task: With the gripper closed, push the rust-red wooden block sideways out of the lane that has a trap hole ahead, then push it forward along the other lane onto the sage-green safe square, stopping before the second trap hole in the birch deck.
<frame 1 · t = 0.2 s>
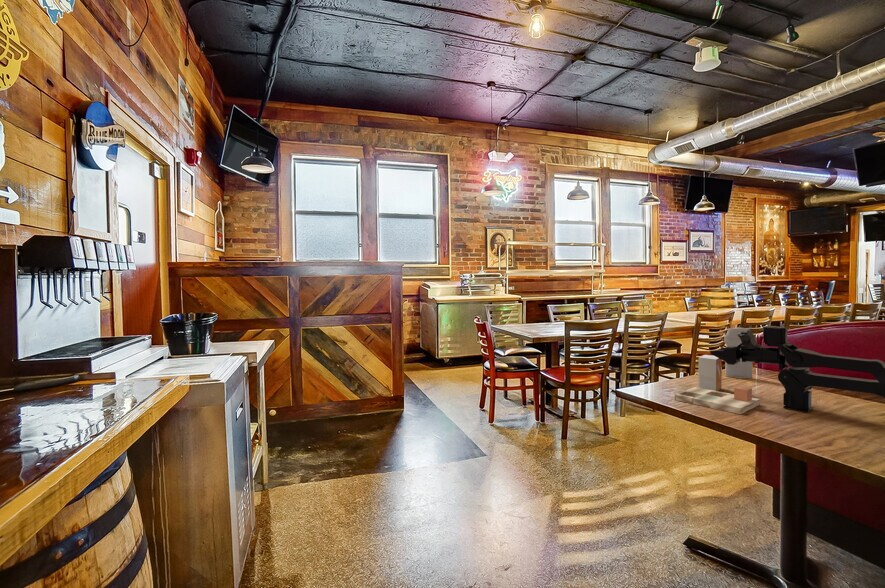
hand: (715, 350, 164), 16 cm above the table, tool horizontal, fingers open, 9 cm apart
block: (742, 399, 150), point 2 cm above the table, touching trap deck
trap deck: (716, 402, 154), on the table
small box: (710, 389, 170), on the table
grey upright slab: (738, 377, 188), on the table
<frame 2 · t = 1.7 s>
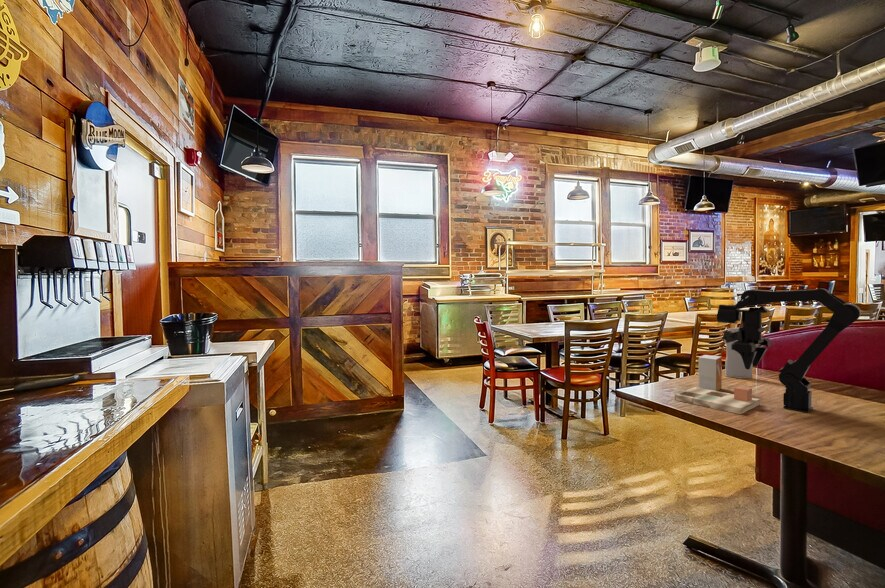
hand: (751, 367, 153), 12 cm above the table, tool pointing down, fingers open, 6 cm apart
nothing on the table moved.
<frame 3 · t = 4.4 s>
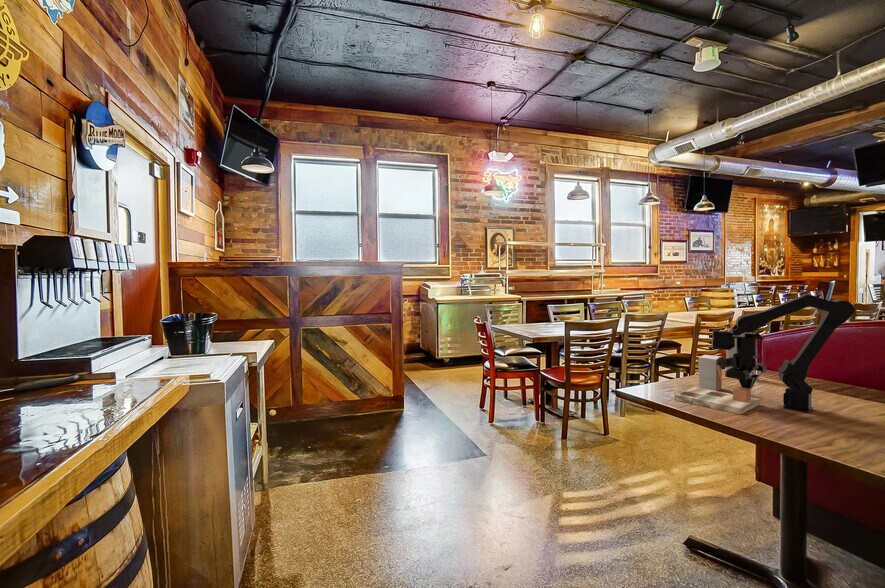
hand: (746, 394, 151), 3 cm above the table, tool pointing down, fingers closed
block: (741, 399, 149), point 2 cm above the table, touching gripper
everything else where it was.
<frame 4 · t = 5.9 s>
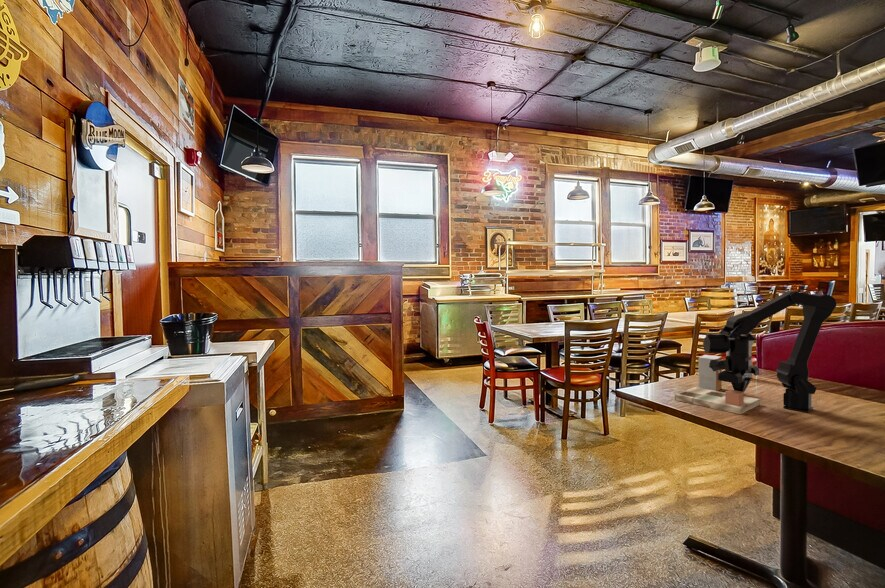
hand: (738, 398, 148), 3 cm above the table, tool pointing down, fingers closed
block: (734, 403, 146), point 2 cm above the table, touching gripper, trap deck
everything else where it was.
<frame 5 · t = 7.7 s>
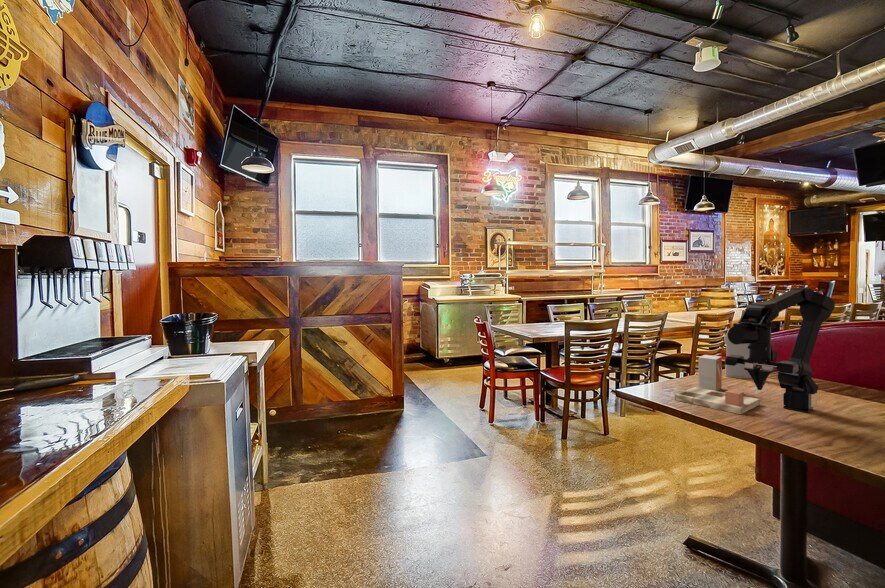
hand: (759, 389, 140), 8 cm above the table, tool pointing down, fingers closed
block: (734, 403, 145), point 2 cm above the table, touching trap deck
everything else where it was.
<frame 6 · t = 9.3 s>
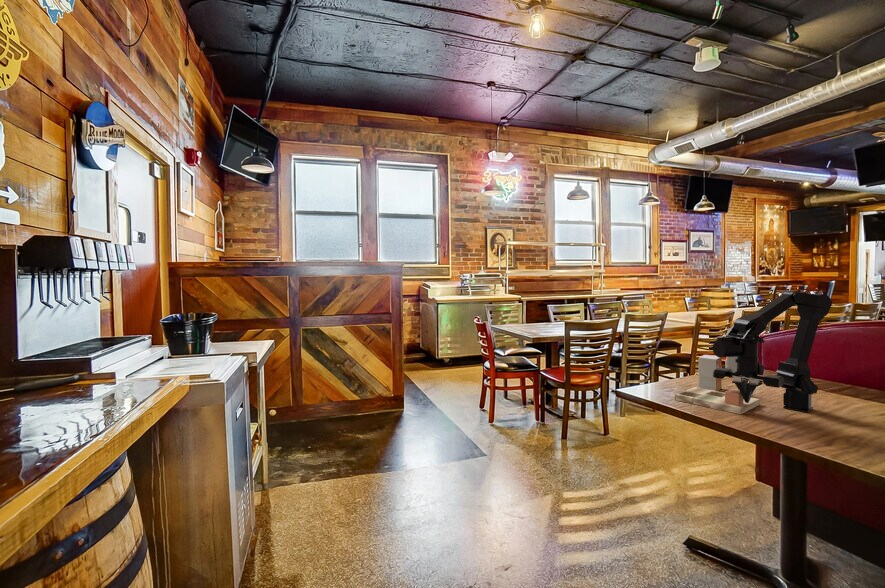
hand: (747, 402, 143), 3 cm above the table, tool pointing down, fingers closed
block: (734, 403, 146), point 2 cm above the table, touching gripper
everything else where it was.
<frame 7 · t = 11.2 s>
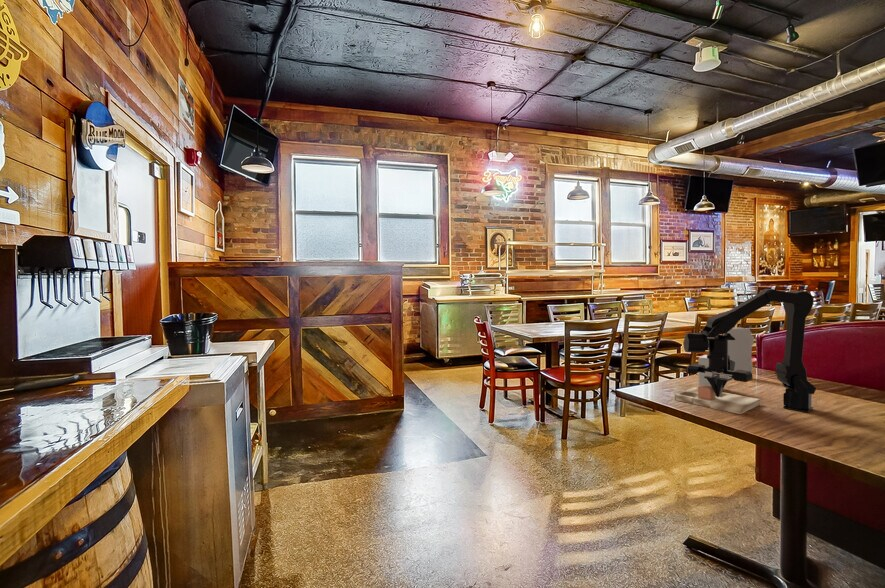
hand: (718, 396, 150), 3 cm above the table, tool pointing down, fingers closed
block: (706, 397, 153), point 2 cm above the table, touching gripper, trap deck
everything else where it was.
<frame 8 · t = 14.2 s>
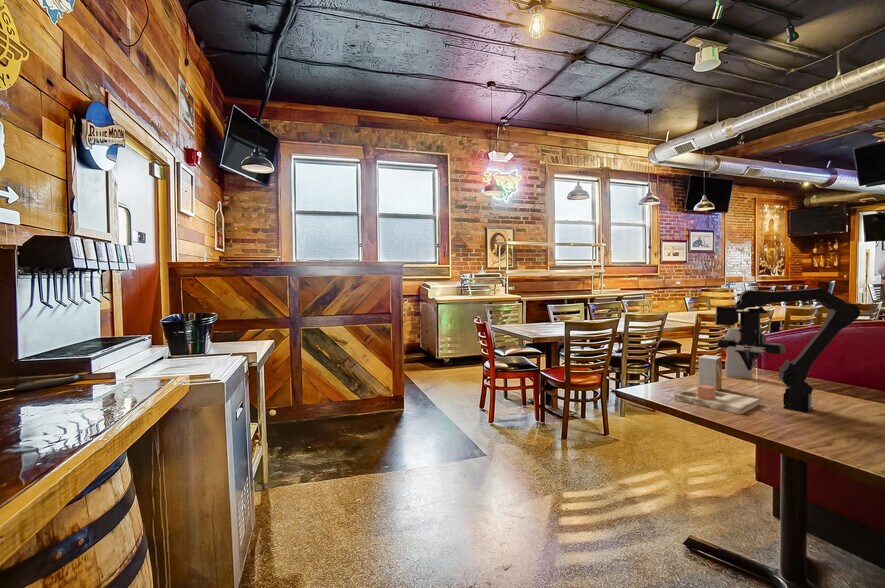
hand: (749, 370, 150), 12 cm above the table, tool pointing down, fingers closed
block: (706, 397, 153), point 2 cm above the table, touching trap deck
everything else where it was.
at the end: block 0.4 cm from the target spot, point 2.0 cm above the table; block tilted 0° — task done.
